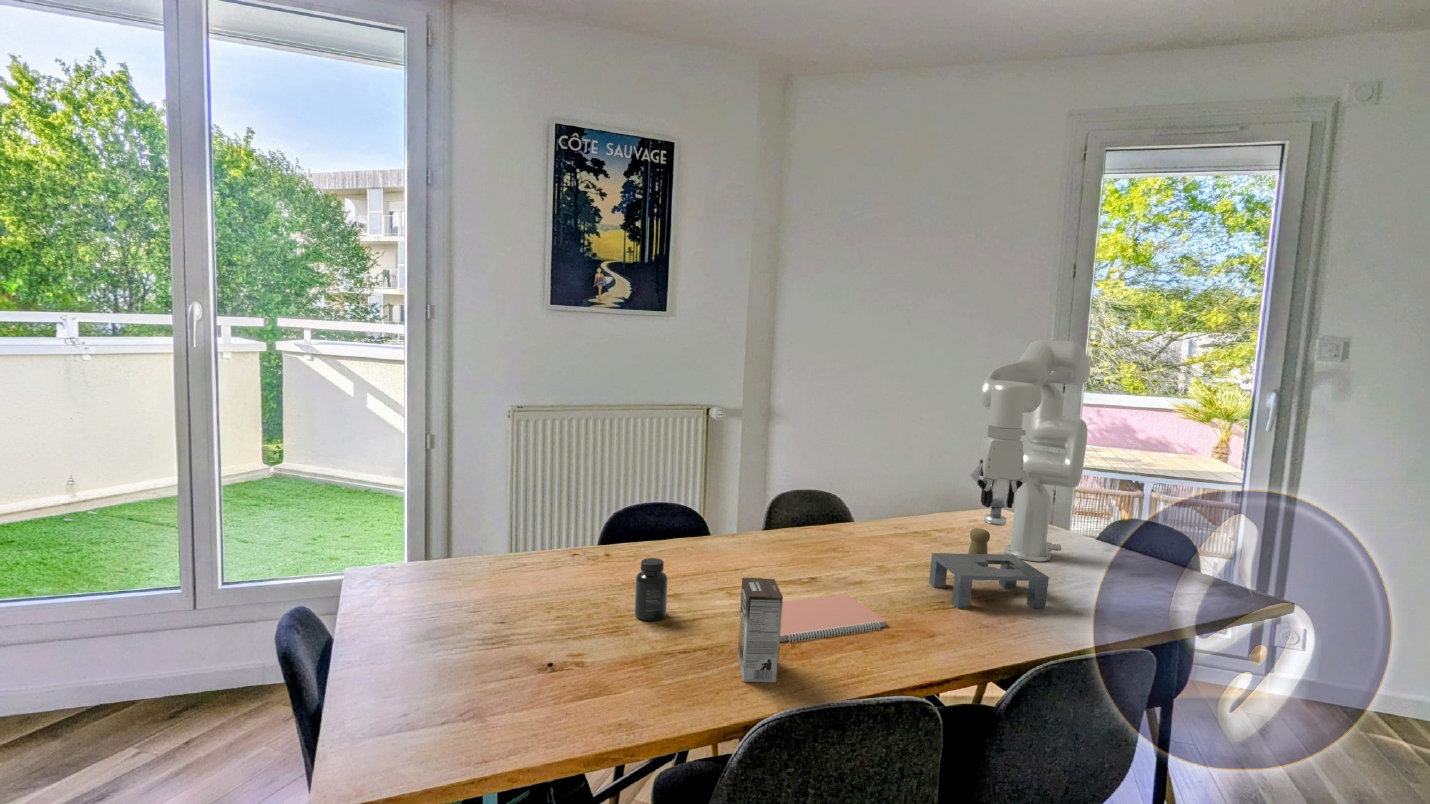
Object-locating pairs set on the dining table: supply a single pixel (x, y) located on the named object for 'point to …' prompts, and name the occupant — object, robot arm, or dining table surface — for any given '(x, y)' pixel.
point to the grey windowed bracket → (987, 575)
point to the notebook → (825, 617)
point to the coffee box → (759, 629)
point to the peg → (998, 502)
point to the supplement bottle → (651, 590)
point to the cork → (979, 541)
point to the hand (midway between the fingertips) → (996, 505)
